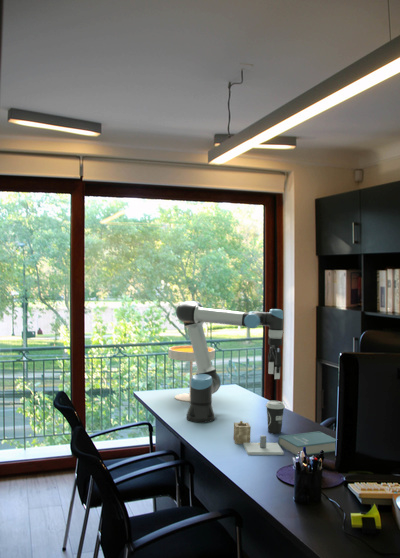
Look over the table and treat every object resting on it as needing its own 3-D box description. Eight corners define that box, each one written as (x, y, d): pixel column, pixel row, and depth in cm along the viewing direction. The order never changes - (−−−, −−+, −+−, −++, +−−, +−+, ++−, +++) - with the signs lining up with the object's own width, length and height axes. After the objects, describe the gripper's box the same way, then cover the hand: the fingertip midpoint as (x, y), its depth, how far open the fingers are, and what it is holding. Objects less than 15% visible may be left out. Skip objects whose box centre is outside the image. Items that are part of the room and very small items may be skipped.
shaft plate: (247, 454, 237) (248, 440, 237) (243, 445, 250) (243, 431, 250) (283, 454, 238) (283, 441, 238) (277, 445, 251) (277, 432, 251)
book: (297, 457, 237) (297, 446, 237) (278, 445, 252) (278, 435, 252) (339, 451, 246) (339, 440, 246) (318, 440, 261) (318, 430, 261)
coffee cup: (272, 435, 265) (273, 405, 265) (261, 430, 274) (262, 401, 273) (287, 433, 270) (288, 403, 269) (276, 428, 278) (277, 399, 278)
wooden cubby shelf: (235, 443, 252) (235, 425, 251) (233, 439, 259) (233, 420, 258) (250, 443, 252) (250, 425, 252) (247, 439, 259) (248, 421, 259)
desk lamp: (186, 390, 359) (187, 344, 359) (223, 397, 342) (224, 348, 342) (157, 398, 335) (158, 348, 335) (195, 406, 318) (196, 354, 318)
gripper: (288, 340, 280) (286, 381, 281) (276, 334, 305) (274, 371, 306) (274, 340, 280) (272, 381, 280) (263, 334, 304) (261, 371, 305)
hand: (273, 376), depth 293 cm, fingers open, 13 cm apart
